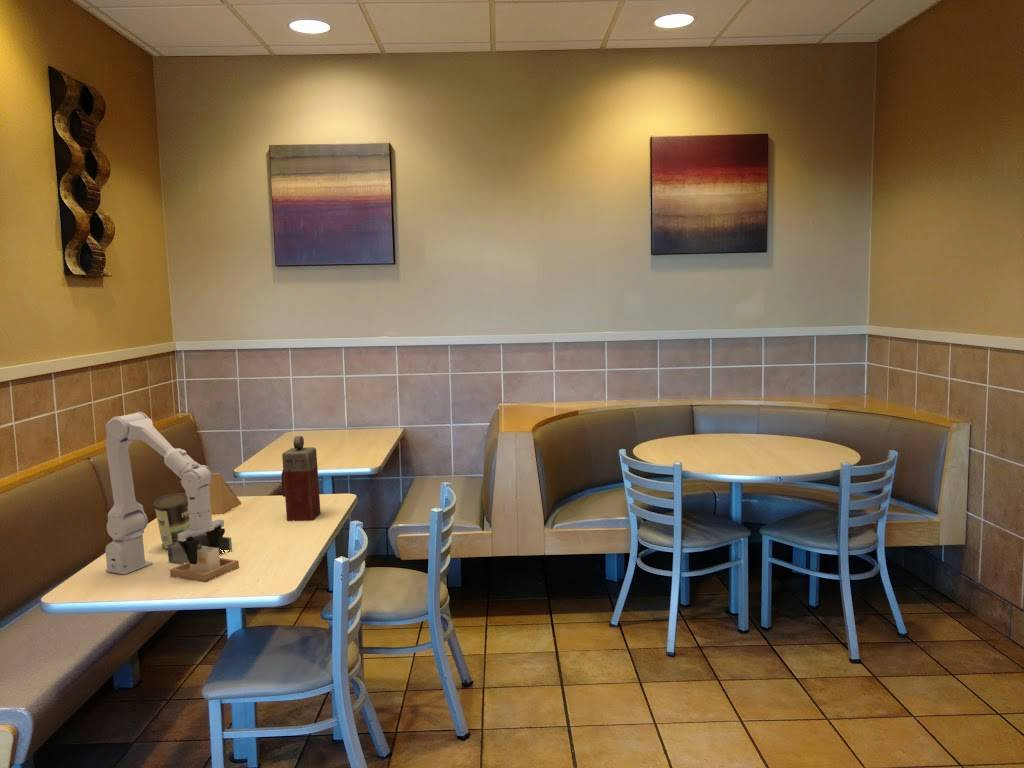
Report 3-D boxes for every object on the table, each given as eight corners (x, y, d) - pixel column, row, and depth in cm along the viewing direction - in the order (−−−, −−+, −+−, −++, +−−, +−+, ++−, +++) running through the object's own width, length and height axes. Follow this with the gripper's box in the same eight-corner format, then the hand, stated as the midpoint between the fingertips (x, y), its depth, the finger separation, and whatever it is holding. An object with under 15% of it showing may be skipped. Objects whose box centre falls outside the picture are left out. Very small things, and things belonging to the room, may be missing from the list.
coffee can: (202, 532, 250) (195, 491, 246) (189, 549, 240) (181, 507, 236) (170, 533, 251) (162, 492, 246) (156, 550, 241) (147, 508, 236)
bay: (195, 565, 225) (194, 548, 224) (168, 561, 229) (167, 544, 229) (232, 550, 237) (230, 534, 237) (206, 547, 242) (204, 531, 241)
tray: (205, 582, 211) (205, 574, 211) (170, 576, 216) (169, 569, 216) (238, 567, 222) (238, 560, 222) (204, 562, 227) (203, 555, 227)
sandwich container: (243, 503, 294) (240, 463, 292) (223, 515, 279) (219, 473, 277) (221, 503, 295) (218, 464, 293) (200, 515, 280) (196, 473, 278)
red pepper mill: (289, 513, 276) (283, 434, 273) (320, 513, 275) (315, 433, 272) (279, 521, 267) (273, 439, 264) (312, 520, 267) (306, 438, 263)
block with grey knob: (209, 574, 216) (207, 549, 215) (190, 571, 219) (188, 547, 218) (220, 569, 219) (218, 545, 219) (201, 566, 222) (199, 542, 222)
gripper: (189, 519, 209) (194, 569, 211) (230, 505, 222) (234, 552, 224) (170, 517, 212) (174, 566, 213) (211, 503, 225) (215, 550, 227)
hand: (204, 559), depth 219 cm, fingers open, 7 cm apart
